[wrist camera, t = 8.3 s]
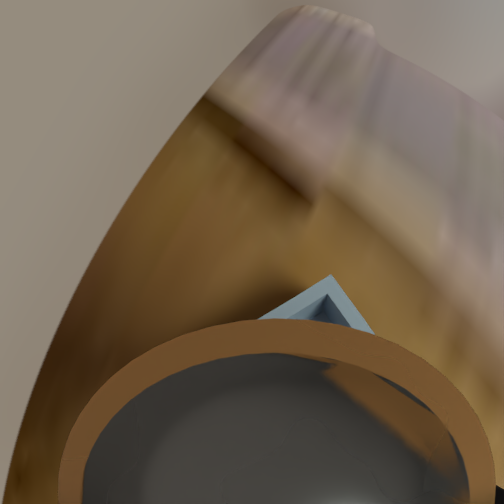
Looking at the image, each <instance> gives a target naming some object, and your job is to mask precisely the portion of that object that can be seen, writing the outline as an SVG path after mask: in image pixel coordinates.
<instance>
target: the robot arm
mask: <svg viewBox="0 0 504 504" xmlns="http://www.w3.org/2000/svg"><path fill="white" fill-rule="evenodd" d="M494 504H504V489H502V488H500V487H499V486H497V485H496V491H495V503H494Z"/></svg>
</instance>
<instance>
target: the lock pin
mask: <svg viewBox="0 0 504 504" xmlns="http://www.w3.org/2000/svg"><path fill="white" fill-rule="evenodd" d="M495 491H496V480H495V468H494V460H493V456H492V452H491V448H490V445H489V441H488V438H487V436H486V433H485V431H484V429H483V427H482V424H481V422H480V420H479V418H478V416H477V415H476V413H475V412H474V410H473V409H472V407H471V406H470V404H469V403H468V401H467V400H466V398H465V397H464V395H463V394H462V393H461V392H460V391H459V390H458V389H457V388H456V387H455V386H454V385H453V384H452V383H451V382H450V381H449V380H448V378H447V377H446V376H444V375H443V374H442V373H441V372H439V371H438V370H437V369H436V368H434V367H433V366H432V365H430V364H429V363H428V362H427V361H425V360H424V359H422V358H421V357H419V356H417V355H415V354H414V353H412V352H410V351H408V350H407V349H405V348H403V347H401V346H400V345H398V344H396V343H393V342H391V341H388V340H386V339H383V338H381V337H378V336H376V335H374V334H371V333H368V332H365V331H361V330H357V329H354V328H350V327H346V326H343V325H339V324H332V323H326V322H319V321H313V320H304V319H279V318H272V319H258V320H243V321H238V322H232V323H227V324H221V325H215V326H211V327H207V328H204V329H201V330H197V331H194V332H191V333H187V334H184V335H181V336H179V337H177V338H174V339H172V340H170V341H167V342H165V343H163V344H160V345H158V346H156V347H154V348H152V349H151V350H149V351H147V352H146V353H144V354H142V355H140V356H139V357H137V358H135V359H134V360H132V361H131V362H129V363H128V364H127V365H126V366H124V367H123V368H122V369H120V370H119V371H118V372H116V373H115V374H114V375H113V376H111V377H110V378H109V379H108V381H107V382H106V383H105V384H104V385H103V386H102V387H101V388H100V389H99V390H98V391H97V392H96V393H95V394H94V395H93V396H92V398H91V399H90V400H89V402H88V403H87V405H86V406H85V407H84V409H83V410H82V411H81V413H80V415H79V416H78V418H77V420H76V422H75V424H74V426H73V428H72V430H71V432H70V434H69V437H68V439H67V442H66V445H65V448H64V451H63V454H62V459H61V464H60V470H59V476H58V503H59V504H494V503H495Z"/></svg>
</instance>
